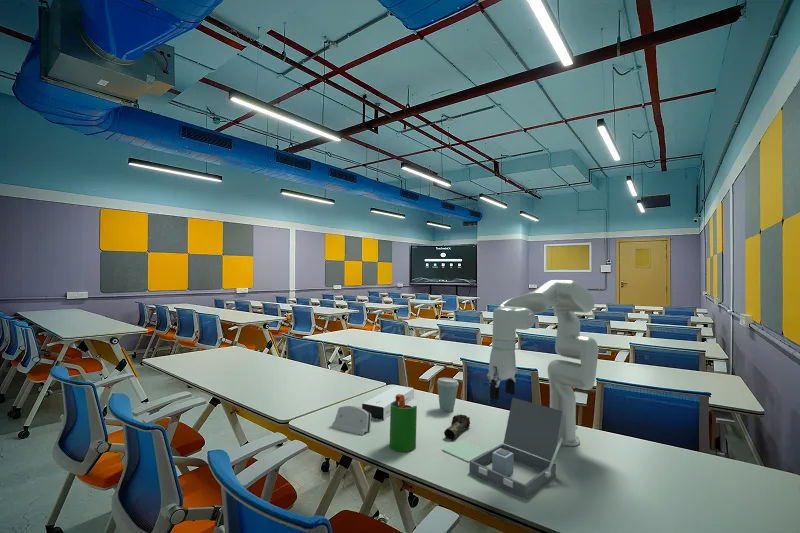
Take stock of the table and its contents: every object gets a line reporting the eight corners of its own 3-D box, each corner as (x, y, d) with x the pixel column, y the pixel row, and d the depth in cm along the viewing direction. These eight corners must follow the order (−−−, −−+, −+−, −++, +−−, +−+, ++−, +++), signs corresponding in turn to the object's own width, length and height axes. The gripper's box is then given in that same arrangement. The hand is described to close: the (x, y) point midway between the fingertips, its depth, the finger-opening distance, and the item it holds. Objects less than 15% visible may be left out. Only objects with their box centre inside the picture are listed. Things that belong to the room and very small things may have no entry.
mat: (461, 441, 147) (461, 440, 147) (487, 451, 138) (487, 450, 138) (442, 450, 138) (442, 449, 138) (468, 462, 130) (468, 461, 130)
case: (506, 450, 139) (506, 419, 140) (563, 472, 124) (563, 437, 124) (468, 472, 123) (468, 437, 123) (528, 501, 108) (528, 460, 108)
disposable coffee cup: (443, 404, 189) (443, 374, 189) (462, 409, 182) (462, 378, 183) (432, 410, 180) (432, 379, 181) (452, 415, 174) (452, 383, 174)
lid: (503, 443, 137) (504, 443, 137) (553, 462, 123) (554, 462, 124) (512, 397, 141) (513, 397, 142) (562, 411, 128) (563, 411, 128)
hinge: (330, 427, 158) (336, 402, 161) (337, 427, 161) (342, 403, 165) (363, 435, 150) (368, 409, 153) (369, 435, 154) (374, 410, 157)
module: (500, 465, 128) (500, 447, 128) (513, 471, 124) (513, 452, 124) (492, 470, 124) (492, 451, 125) (505, 476, 121) (505, 457, 121)
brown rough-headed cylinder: (455, 441, 147) (455, 427, 147) (439, 437, 150) (439, 423, 150) (472, 427, 161) (472, 413, 161) (458, 423, 165) (458, 410, 165)
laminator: (383, 421, 166) (383, 407, 166) (359, 416, 171) (359, 403, 172) (413, 399, 197) (413, 387, 197) (392, 396, 202) (393, 384, 202)
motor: (419, 444, 143) (419, 392, 143) (409, 454, 135) (410, 398, 135) (395, 439, 147) (396, 388, 148) (384, 448, 139) (385, 394, 139)
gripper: (507, 341, 134) (506, 389, 133) (479, 345, 122) (478, 398, 122) (526, 344, 129) (525, 394, 128) (499, 348, 117) (498, 404, 116)
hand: (502, 396), depth 125 cm, fingers open, 9 cm apart
